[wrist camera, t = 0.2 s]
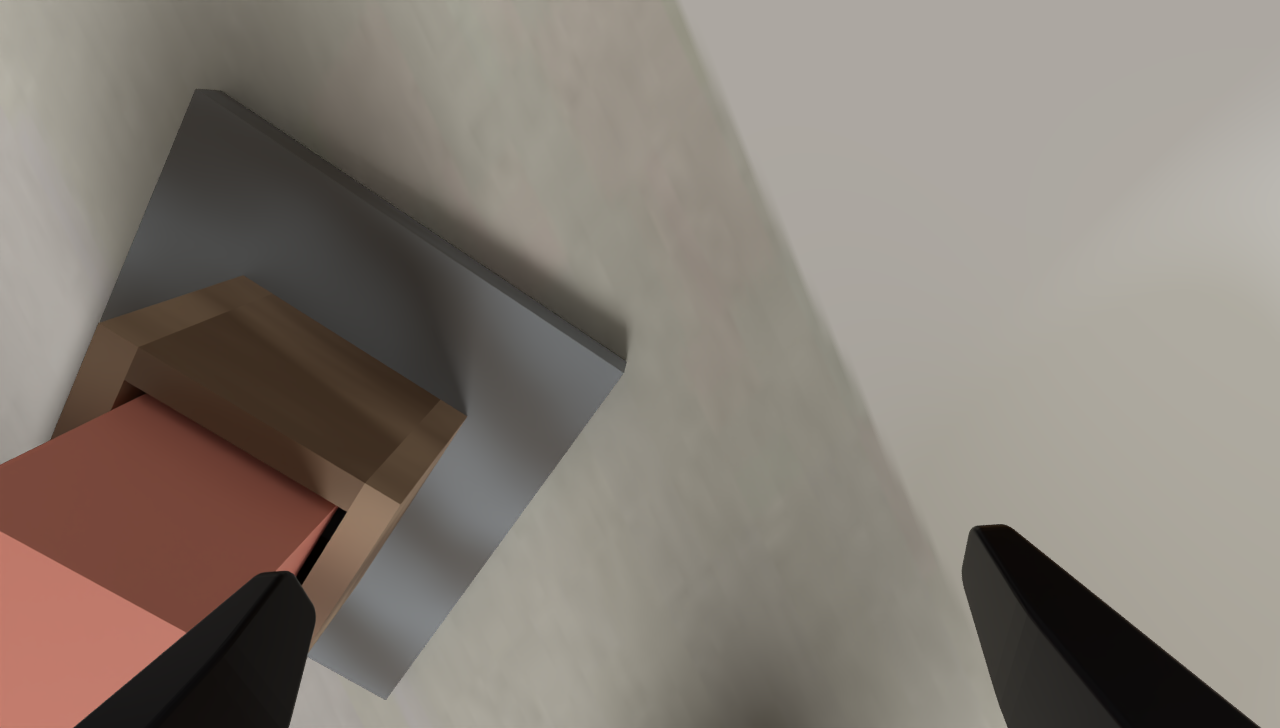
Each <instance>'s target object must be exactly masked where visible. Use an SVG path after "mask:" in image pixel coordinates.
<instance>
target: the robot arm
mask: <svg viewBox="0 0 1280 728" xmlns="http://www.w3.org/2000/svg"><path fill="white" fill-rule="evenodd" d="M962 581H963V586H964V589H965V593H966V596H967V600H968V603H969V607H970V610H971V613H972V616H973V620H974V623H975V627H976V630H977V634H978V637H979V640H980V644H981V647H982V650H983V654H984V657H985V660H986V664H987V667H988V671H989V674H990V677H991V681H992V684H993V687H994V690H995V694H996V697H997V700H998V703H999V706H1000V709H1001V711H1002V714H1003V716H1004V719H1005V722H1006V724H1007V727H1008V728H1260V727H1259V726H1258V725H1257V724H1255V723H1254V722H1253V721H1252V720H1251V719H1249V718H1248V717H1247V716H1245V715H1244V714H1243V713H1242V712H1241V711H1239V710H1238V709H1237V708H1236V707H1234V706H1233V705H1232V704H1231V703H1229V702H1228V701H1227V700H1226V699H1224V698H1223V697H1222V696H1221V695H1219V694H1218V693H1217V692H1216V691H1214V690H1213V689H1212V688H1211V687H1209V686H1208V685H1207V684H1206V683H1204V682H1203V681H1202V680H1201V679H1199V678H1198V677H1197V676H1196V675H1195V674H1193V673H1192V672H1191V671H1189V670H1188V669H1187V668H1186V667H1184V666H1183V665H1182V664H1181V663H1179V662H1178V661H1177V660H1176V659H1175V658H1173V657H1172V656H1171V655H1169V654H1168V653H1167V652H1166V651H1165V650H1163V649H1162V648H1161V647H1160V646H1158V645H1157V644H1156V643H1155V642H1153V641H1152V640H1151V639H1150V638H1148V637H1147V636H1146V635H1145V634H1143V633H1142V632H1141V631H1140V630H1138V629H1137V628H1136V627H1135V626H1133V625H1132V624H1131V623H1130V622H1129V621H1127V620H1126V619H1125V618H1124V617H1122V616H1121V615H1120V614H1119V613H1117V612H1116V611H1115V610H1113V609H1112V608H1111V607H1110V606H1109V605H1107V604H1106V603H1105V602H1103V601H1102V600H1101V599H1100V598H1099V597H1097V596H1096V595H1095V594H1094V593H1092V592H1091V591H1090V590H1089V589H1087V588H1086V587H1085V586H1084V585H1082V584H1081V583H1080V582H1079V581H1077V580H1076V579H1075V578H1074V577H1073V576H1071V575H1070V574H1069V573H1068V572H1066V571H1065V570H1064V569H1063V568H1061V567H1060V566H1059V565H1058V564H1056V563H1055V562H1054V561H1053V560H1051V559H1050V558H1049V557H1048V556H1046V555H1045V554H1044V553H1042V552H1041V551H1040V550H1039V549H1038V548H1036V547H1035V546H1034V545H1033V544H1031V543H1030V542H1029V541H1028V540H1026V539H1025V538H1024V537H1023V536H1021V535H1020V534H1019V533H1018V532H1016V531H1015V530H1014V529H1012V528H1011V527H1009V526H1007V525H1003V524H996V525H981V526H975V527H973V528H972V529H971V530H970V532H969V536H968V541H967V545H966V551H965V555H964V560H963V565H962ZM315 623H316V611H315V608H314V605H313V603H312V602H311V600H310V599H309V597H308V595H307V594H306V592H305V591H304V589H303V587H302V586H301V584H300V583H299V581H298V579H297V578H296V576H295V575H294V574H293V573H291V572H289V571H272V572H263V573H260V574H257V575H256V576H254V577H253V578H252V579H250V580H249V581H248V582H247V583H246V584H244V585H243V586H242V587H241V588H240V589H238V590H237V591H236V592H235V593H234V594H232V595H231V596H230V597H229V598H228V599H226V600H225V601H224V602H223V603H222V604H220V605H219V606H218V607H217V608H216V609H214V610H213V611H212V612H211V613H210V614H208V615H207V616H206V617H205V618H204V619H203V620H201V621H200V622H199V623H198V624H197V625H195V626H194V627H193V628H192V629H191V630H189V631H188V632H187V633H186V634H185V635H183V636H182V637H181V638H180V639H179V640H177V641H176V642H175V643H174V644H173V645H171V646H170V647H169V648H168V649H167V650H165V651H164V652H163V653H162V654H161V655H159V656H158V657H157V658H156V659H155V660H153V661H152V662H151V663H150V664H149V665H147V666H146V667H145V668H144V669H143V670H141V671H140V672H139V673H138V674H137V675H135V676H134V677H133V678H132V679H131V680H129V681H128V682H127V683H126V684H125V685H124V686H122V687H121V688H120V689H119V690H118V691H116V692H115V693H114V694H113V695H112V696H110V697H109V698H108V699H107V700H106V701H104V702H103V703H102V704H101V705H100V706H98V707H97V708H96V709H95V710H94V711H92V712H91V713H90V714H89V715H88V716H86V717H85V718H84V719H83V720H82V721H80V722H79V723H78V724H77V725H76V726H74V727H73V728H289V725H290V721H291V718H292V714H293V710H294V706H295V702H296V698H297V694H298V691H299V687H300V683H301V679H302V675H303V671H304V667H305V663H306V659H307V655H308V651H309V648H310V644H311V640H312V636H313V632H314V628H315Z"/></svg>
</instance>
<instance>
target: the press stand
mask: <svg viewBox="0 0 1280 728" xmlns="http://www.w3.org/2000/svg"><path fill="white" fill-rule="evenodd" d="M625 366H626V361H625V360H623V359H622V358H620V357H619V356H617V355H616V354H614V353H613V352H611V351H610V350H608V349H607V348H605V347H604V346H602V345H601V344H599V343H598V342H596V341H595V340H593V339H592V338H590V337H589V336H587V335H586V334H584V333H583V332H581V331H580V330H578V329H577V328H575V327H574V326H572V325H571V324H569V323H568V322H566V321H565V320H563V319H562V318H560V317H559V316H557V315H556V314H554V313H553V312H551V311H550V310H548V309H547V308H545V307H544V306H542V305H541V304H539V303H538V302H536V301H535V300H533V299H532V298H530V297H529V296H527V295H526V294H524V293H523V292H521V291H520V290H518V289H517V288H515V287H514V286H512V285H511V284H509V283H508V282H506V281H505V280H503V279H502V278H500V277H499V276H497V275H496V274H494V273H493V272H491V271H490V270H489V269H487V268H486V267H484V266H483V265H481V264H480V263H478V262H477V261H475V260H474V259H472V258H471V257H469V256H468V255H466V254H465V253H463V252H462V251H460V250H459V249H457V248H456V247H454V246H453V245H451V244H450V243H448V242H447V241H445V240H444V239H442V238H441V237H439V236H438V235H436V234H435V233H433V232H432V231H430V230H429V229H427V228H426V227H424V226H423V225H421V224H420V223H418V222H417V221H415V220H414V219H412V218H411V217H409V216H408V215H406V214H405V213H403V212H402V211H400V210H399V209H397V208H396V207H394V206H393V205H391V204H390V203H388V202H387V201H385V200H384V199H382V198H381V197H379V196H378V195H376V194H375V193H373V192H372V191H370V190H369V189H367V188H366V187H364V186H363V185H361V184H360V183H358V182H357V181H355V180H354V179H352V178H351V177H349V176H348V175H346V174H345V173H343V172H342V171H340V170H339V169H337V168H336V167H334V166H333V165H331V164H330V163H328V162H327V161H325V160H324V159H322V158H321V157H319V156H318V155H316V154H315V153H313V152H312V151H310V150H309V149H307V148H306V147H304V146H303V145H301V144H300V143H298V142H297V141H295V140H294V139H292V138H291V137H289V136H288V135H286V134H285V133H283V132H282V131H280V130H279V129H277V128H276V127H274V126H273V125H271V124H270V123H268V122H267V121H265V120H264V119H262V118H261V117H259V116H258V115H256V114H255V113H253V112H252V111H250V110H249V109H247V108H246V107H244V106H243V105H241V104H240V103H238V102H237V101H235V100H234V99H232V98H231V97H229V96H228V95H226V94H225V93H223V92H222V91H216V90H204V89H196V90H195V92H194V94H193V97H192V99H191V102H190V104H189V107H188V109H187V112H186V114H185V116H184V119H183V121H182V124H181V126H180V129H179V131H178V133H177V136H176V138H175V141H174V143H173V146H172V148H171V150H170V153H169V155H168V158H167V160H166V163H165V165H164V167H163V170H162V172H161V175H160V177H159V180H158V182H157V184H156V187H155V189H154V192H153V194H152V197H151V199H150V201H149V204H148V206H147V209H146V211H145V214H144V216H143V218H142V221H141V223H140V226H139V228H138V231H137V233H136V235H135V238H134V240H133V243H132V245H131V248H130V250H129V252H128V255H127V257H126V260H125V262H124V265H123V267H122V269H121V272H120V274H119V277H118V279H117V282H116V284H115V286H114V289H113V291H112V294H111V296H110V299H109V301H108V303H107V306H106V308H105V311H104V313H103V316H102V318H101V321H100V323H98V325H97V328H96V330H95V333H94V335H93V338H92V340H91V342H90V345H89V347H88V350H87V352H86V355H85V357H84V359H83V362H82V364H81V367H80V369H79V372H78V374H77V377H76V379H75V381H74V384H73V386H72V389H71V391H70V394H69V396H68V398H67V401H66V403H65V406H64V408H63V411H62V413H61V415H60V418H59V420H58V423H57V425H56V428H55V430H54V432H53V435H52V437H51V440H52V439H54V438H56V437H58V436H60V435H62V434H64V433H66V432H68V431H70V430H72V429H74V428H76V427H78V426H81V425H83V424H85V423H87V422H89V421H91V420H93V419H95V418H97V417H99V416H101V415H103V414H105V413H107V412H109V411H111V410H113V409H115V408H117V407H119V406H121V405H123V404H125V403H127V402H130V401H132V400H134V399H136V398H138V397H140V396H142V395H144V394H146V393H147V394H149V395H150V396H152V397H154V398H156V399H157V400H159V401H161V402H162V403H164V404H166V405H167V406H169V407H171V408H172V409H174V410H176V411H178V412H179V413H181V414H183V415H184V416H186V417H188V418H189V419H191V420H193V421H194V422H196V423H198V424H199V425H201V426H203V427H205V428H206V429H208V430H210V431H211V432H213V433H215V434H216V435H218V436H220V437H221V438H223V439H225V440H227V441H228V442H230V443H232V444H233V445H235V446H237V447H238V448H240V449H242V450H243V451H245V452H247V453H248V454H250V455H252V456H254V457H255V458H257V459H259V460H260V461H262V462H264V463H265V464H267V465H269V466H270V467H272V468H274V469H276V470H277V471H279V472H281V473H282V474H284V475H286V476H287V477H289V478H291V479H292V480H294V481H296V482H297V483H299V484H301V485H303V486H304V487H306V488H308V489H309V490H311V491H313V492H314V493H316V494H318V495H319V496H321V497H323V498H325V499H326V500H328V501H330V502H331V503H333V504H335V505H336V506H338V509H337V510H336V512H335V514H334V515H333V517H332V519H331V520H330V522H329V523H328V525H327V527H326V528H325V530H324V532H323V533H322V535H321V537H320V538H319V540H318V542H317V543H316V545H315V546H314V548H313V550H312V551H311V553H310V555H309V556H308V558H307V560H306V561H305V563H304V564H303V566H302V568H301V569H300V571H299V573H298V574H297V576H296V578H297V579H298V581H299V583H300V584H301V586H302V587H303V589H304V591H305V592H306V594H307V595H308V597H309V599H310V600H311V602H312V603H313V605H314V608H315V611H316V623H315V628H314V632H313V636H312V640H311V644H310V648H309V651H308V655H307V657H309V658H310V659H312V660H314V661H316V662H318V663H319V664H321V665H323V666H325V667H327V668H328V669H330V670H332V671H334V672H336V673H338V674H339V675H341V676H343V677H345V678H347V679H348V680H350V681H352V682H354V683H356V684H357V685H359V686H361V687H363V688H365V689H366V690H368V691H370V692H372V693H374V694H375V695H377V696H379V697H381V698H383V699H384V700H386V699H387V698H388V696H389V695H390V694H391V692H392V691H393V689H394V688H395V687H396V685H397V684H398V683H399V681H400V680H401V678H402V677H403V676H404V674H405V673H406V672H407V670H408V669H409V667H410V666H411V665H412V663H413V662H414V661H415V659H416V658H417V656H418V655H419V654H420V652H421V651H422V650H423V648H424V647H425V645H426V644H427V643H428V641H429V640H430V639H431V637H432V636H433V634H434V633H435V632H436V630H437V629H438V628H439V626H440V625H441V623H442V622H443V621H444V619H445V618H446V617H447V615H448V614H449V612H450V611H451V610H452V608H453V607H454V606H455V604H456V603H457V601H458V600H459V599H460V597H461V596H462V595H463V593H464V592H465V590H466V589H467V588H468V586H469V585H470V584H471V582H472V581H473V579H474V578H475V577H476V575H477V574H478V573H479V571H480V570H481V568H482V567H483V566H484V564H485V563H486V562H487V560H488V559H489V557H490V556H491V555H492V553H493V552H494V551H495V549H496V548H497V546H498V545H499V544H500V542H501V541H502V540H503V538H504V537H505V535H506V534H507V533H508V531H509V530H510V529H511V527H512V526H513V525H514V523H515V522H516V520H517V519H518V518H519V516H520V515H521V514H522V512H523V511H524V509H525V508H526V507H527V505H528V504H529V503H530V501H531V500H532V498H533V497H534V496H535V494H536V493H537V492H538V490H539V489H540V487H541V486H542V485H543V483H544V482H545V481H546V479H547V478H548V476H549V475H550V474H551V472H552V471H553V470H554V468H555V467H556V465H557V464H558V463H559V461H560V460H561V459H562V457H563V456H564V454H565V453H566V452H567V450H568V449H569V448H570V446H571V445H572V443H573V442H574V441H575V439H576V438H577V437H578V435H579V434H580V432H581V431H582V430H583V428H584V427H585V426H586V424H587V423H588V421H589V420H590V419H591V417H592V416H593V415H594V413H595V412H596V410H597V409H598V408H599V406H600V405H601V404H602V402H603V401H604V399H605V398H606V397H607V395H608V394H609V393H610V391H611V390H612V388H613V387H614V386H615V384H616V383H617V382H618V380H619V379H620V377H621V376H622V375H623V373H624V370H625Z"/></svg>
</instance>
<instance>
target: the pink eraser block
mask: <svg viewBox="0 0 1280 728" xmlns="http://www.w3.org/2000/svg"><path fill="white" fill-rule="evenodd" d="M337 509H338V506H336V505H335V504H333V503H331V502H330V501H328V500H326V499H325V498H323V497H321V496H319V495H318V494H316V493H314V492H313V491H311V490H309V489H308V488H306V487H304V486H303V485H301V484H299V483H297V482H296V481H294V480H292V479H291V478H289V477H287V476H286V475H284V474H282V473H281V472H279V471H277V470H276V469H274V468H272V467H270V466H269V465H267V464H265V463H264V462H262V461H260V460H259V459H257V458H255V457H254V456H252V455H250V454H248V453H247V452H245V451H243V450H242V449H240V448H238V447H237V446H235V445H233V444H232V443H230V442H228V441H227V440H225V439H223V438H221V437H220V436H218V435H216V434H215V433H213V432H211V431H210V430H208V429H206V428H205V427H203V426H201V425H199V424H198V423H196V422H194V421H193V420H191V419H189V418H188V417H186V416H184V415H183V414H181V413H179V412H178V411H176V410H174V409H172V408H171V407H169V406H167V405H166V404H164V403H162V402H161V401H159V400H157V399H156V398H154V397H152V396H150V395H149V394H147V393H146V394H144V395H142V396H140V397H138V398H136V399H134V400H132V401H130V402H127V403H125V404H123V405H121V406H119V407H117V408H115V409H113V410H111V411H109V412H107V413H105V414H103V415H101V416H99V417H97V418H95V419H93V420H91V421H89V422H87V423H85V424H83V425H81V426H78V427H76V428H74V429H72V430H70V431H68V432H66V433H64V434H62V435H60V436H58V437H56V438H54V439H52V440H50V441H48V442H46V443H44V444H42V445H40V446H38V447H36V448H34V449H32V450H30V451H27V452H25V453H23V454H21V455H19V456H17V457H15V458H13V459H11V460H9V461H7V462H5V463H3V464H1V465H0V728H73V727H74V726H76V725H77V724H78V723H79V722H80V721H82V720H83V719H84V718H85V717H86V716H88V715H89V714H90V713H91V712H92V711H94V710H95V709H96V708H97V707H98V706H100V705H101V704H102V703H103V702H104V701H106V700H107V699H108V698H109V697H110V696H112V695H113V694H114V693H115V692H116V691H118V690H119V689H120V688H121V687H122V686H124V685H125V684H126V683H127V682H128V681H129V680H131V679H132V678H133V677H134V676H135V675H137V674H138V673H139V672H140V671H141V670H143V669H144V668H145V667H146V666H147V665H149V664H150V663H151V662H152V661H153V660H155V659H156V658H157V657H158V656H159V655H161V654H162V653H163V652H164V651H165V650H167V649H168V648H169V647H170V646H171V645H173V644H174V643H175V642H176V641H177V640H179V639H180V638H181V637H182V636H183V635H185V634H186V633H187V632H188V631H189V630H191V629H192V628H193V627H194V626H195V625H197V624H198V623H199V622H200V621H201V620H203V619H204V618H205V617H206V616H207V615H208V614H210V613H211V612H212V611H213V610H214V609H216V608H217V607H218V606H219V605H220V604H222V603H223V602H224V601H225V600H226V599H228V598H229V597H230V596H231V595H232V594H234V593H235V592H236V591H237V590H238V589H240V588H241V587H242V586H243V585H244V584H246V583H247V582H248V581H249V580H250V579H252V578H253V577H254V576H256V575H257V574H260V573H263V572H272V571H289V572H291V573H293V574H294V575H295V576H297V574H298V573H299V571H300V569H301V568H302V566H303V564H304V563H305V561H306V560H307V558H308V556H309V555H310V553H311V551H312V550H313V548H314V546H315V545H316V543H317V542H318V540H319V538H320V537H321V535H322V533H323V532H324V530H325V528H326V527H327V525H328V523H329V522H330V520H331V519H332V517H333V515H334V514H335V512H336V510H337Z"/></svg>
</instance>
